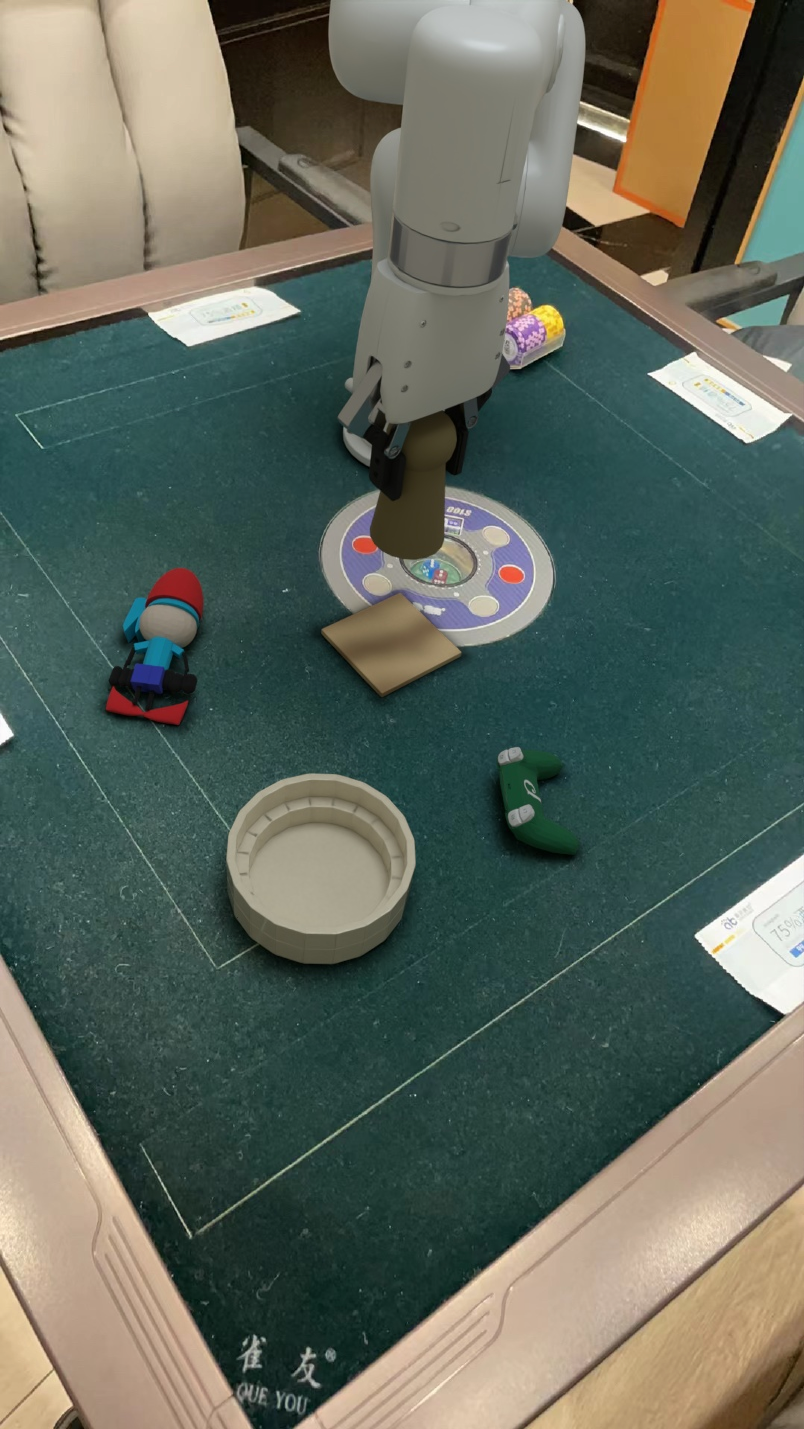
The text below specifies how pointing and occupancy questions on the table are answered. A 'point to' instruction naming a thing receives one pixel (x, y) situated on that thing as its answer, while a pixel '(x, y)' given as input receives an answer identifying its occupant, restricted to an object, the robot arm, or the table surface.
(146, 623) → the toy figure
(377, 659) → the coaster
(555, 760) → the gaming controller
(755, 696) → the table surface
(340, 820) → the bowl
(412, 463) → the olive brown pawn
